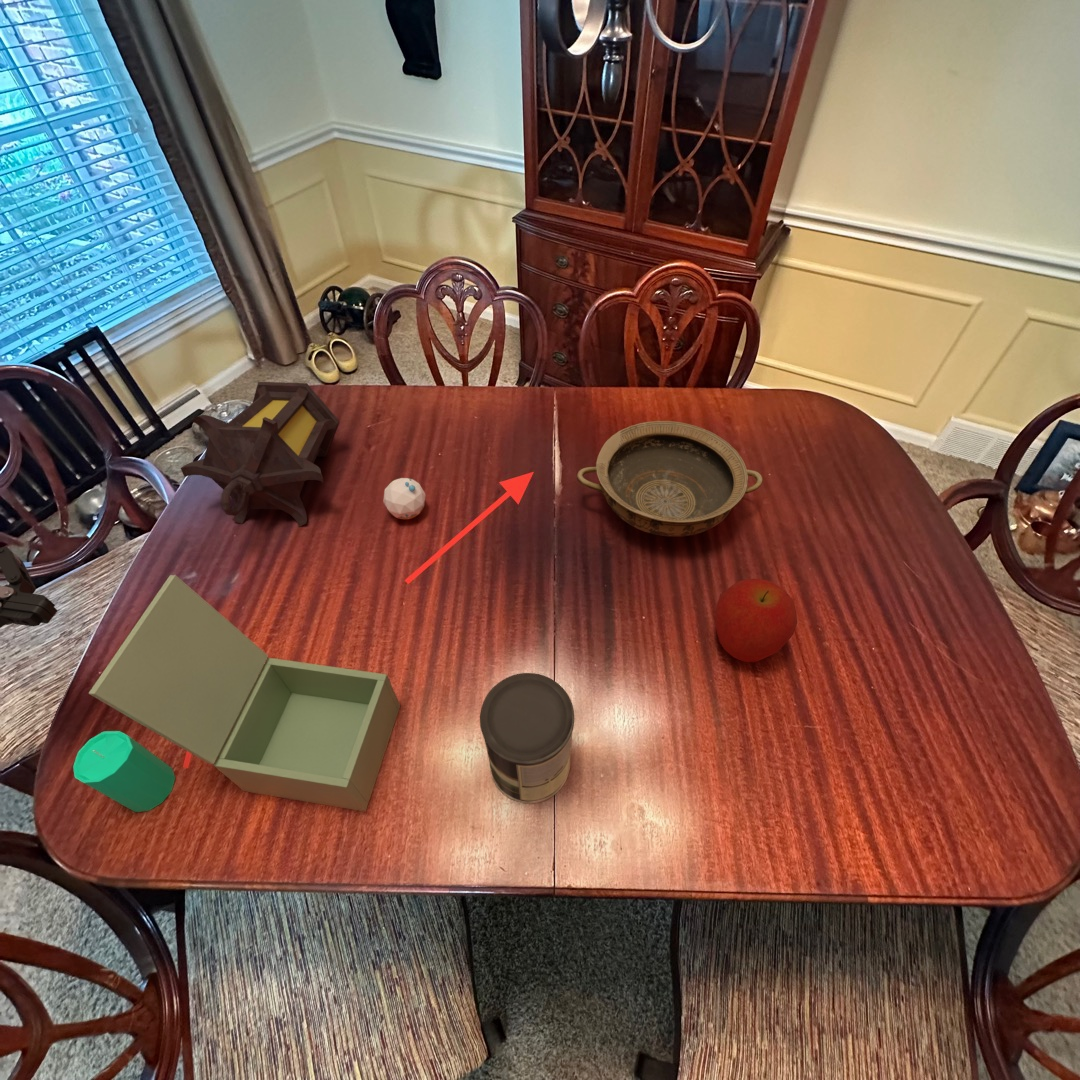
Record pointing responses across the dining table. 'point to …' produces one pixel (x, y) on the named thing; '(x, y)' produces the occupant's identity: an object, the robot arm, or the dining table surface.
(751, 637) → the apple
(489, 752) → the coffee can
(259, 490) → the lantern
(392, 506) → the ornament
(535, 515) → the dining table surface
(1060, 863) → the dining table surface
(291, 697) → the chest
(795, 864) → the dining table surface
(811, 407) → the dining table surface
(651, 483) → the ceramic bowl
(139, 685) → the lid
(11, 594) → the robot arm
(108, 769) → the candle
